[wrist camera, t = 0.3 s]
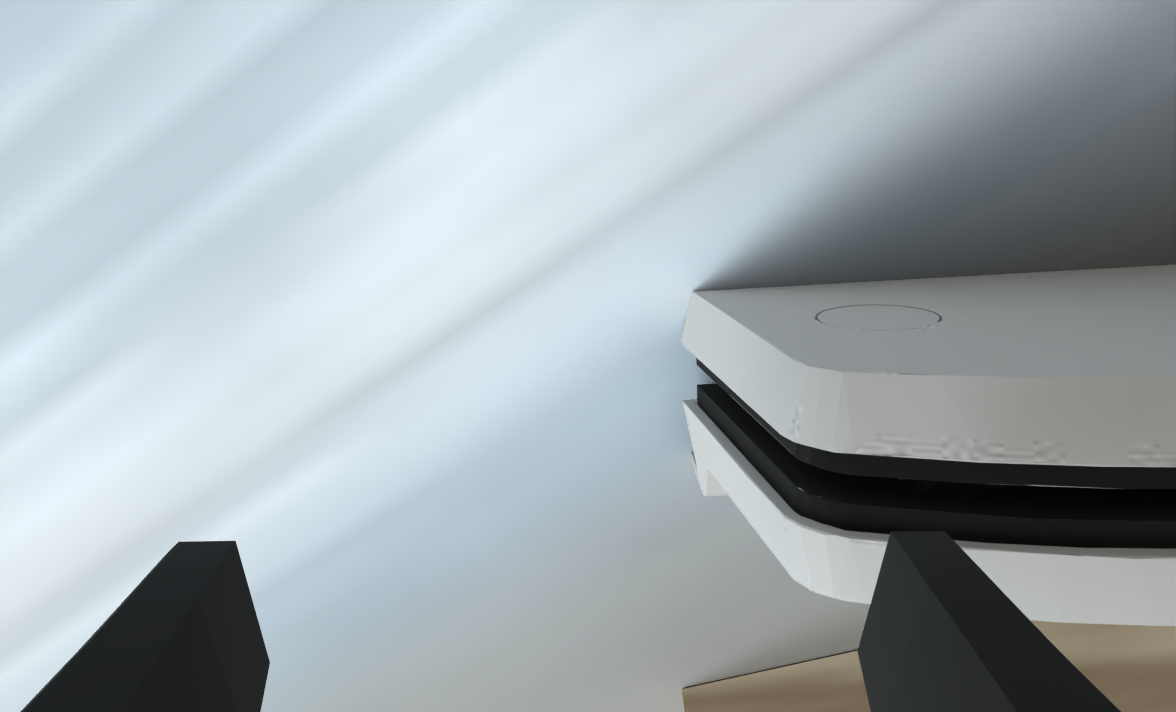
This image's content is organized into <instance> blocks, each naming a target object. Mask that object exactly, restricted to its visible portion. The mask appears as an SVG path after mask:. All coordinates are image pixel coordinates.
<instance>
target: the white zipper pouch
mask: <svg viewBox="0 0 1176 712" xmlns="http://www.w3.org/2000/svg"><path fill="white" fill-rule="evenodd" d="M681 344H682V345H683V346H685V347H686V348H687V349H688V350H689V351H690V352H691V353H692V354H693V355H694V356H695V357H697V365H698V366H699V367H700V368H701V369H702V370H703V371H704V372H705V373H706V374H707V375H708V376H709V377H711V378H712V379H713V380H714V381H715V382H716V383H717V384H702V385H697V399H696V400H682V401H683V406H684V410H685V415H686V419H687V424H688V428H689V433H690V438H691V442H692V447H693V451H694V452H692V453H691V456H692V461H693V466H694V470H695V473H696V475H697V478H698V481H699V484H700V487H701V490H702V493H703V494H704V495H705V496H720V495H729V497H730V498H731V499H732V500H733V502H734V503H735V504H736V506H737V507H738V508H739V510H740V511H741V512H742V513H743V515H744V516H745V517H746V519H747V520H748V521H749V523H750V524H751V525H752V526H753V528H754V529H755V530H756V532H757V533H758V534H759V536H760V537H761V538H762V539H763V541H764V542H765V543H766V545H767V546H768V547H769V549H770V550H771V551H772V552H773V554H774V555H775V556H776V558H777V559H778V560H779V562H780V563H781V564H782V565H783V567H784V568H785V569H786V571H787V572H788V573H789V574H790V576H791V577H792V578H793V579H794V580H795V581H797V582H799V583H800V584H802V585H803V586H805V587H807V588H808V589H810V590H811V591H813V592H815V593H819V594H822V595H826V596H829V597H832V598H836V599H839V600H843V601H849V602H857V603H865V604H871V601H872V597H873V594H874V590H875V586H876V583H877V579H878V575H879V572H880V568H881V564H882V561H883V557H884V554H885V550H886V546H887V543H888V539H889V535H890V532H904V531H945V532H946V533H947V534H948V535H949V536H950V537H951V538H952V539H953V540H954V541H955V542H956V543H957V544H958V545H959V546H960V547H961V548H962V550H963V551H964V552H965V553H966V554H967V555H968V556H969V557H970V558H971V559H972V560H973V561H974V562H975V563H976V564H977V565H978V566H979V567H980V568H981V570H982V571H983V572H984V573H985V574H986V575H987V576H988V577H989V578H990V579H991V580H992V581H993V582H994V583H995V584H996V585H997V586H998V587H999V588H1000V590H1001V591H1002V592H1003V593H1004V594H1005V595H1006V596H1007V597H1008V598H1009V599H1010V600H1011V601H1012V602H1013V603H1014V604H1015V605H1016V606H1017V607H1018V608H1019V609H1020V610H1021V612H1022V613H1023V614H1024V615H1025V616H1026V617H1027V618H1028V619H1029V620H1035V621H1047V622H1060V623H1086V624H1115V625H1145V626H1176V264H1175V265H1157V266H1139V267H1121V268H1103V269H1085V270H1067V271H1049V272H1031V273H1013V274H995V275H977V276H959V277H941V278H923V279H905V280H887V281H870V282H852V283H834V284H816V285H798V286H780V287H762V288H744V289H726V290H708V291H692V294H691V298H690V301H689V304H688V308H687V312H686V317H685V323H684V328H683V333H682V338H681Z"/></svg>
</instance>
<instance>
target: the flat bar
mask: <svg viewBox="0 0 1176 712" xmlns="http://www.w3.org/2000/svg"><path fill="white" fill-rule="evenodd" d="M1030 621H1031V622H1032V623H1033V624H1034V625H1035V626H1036V627H1037V628H1038V629H1039V630H1040V631H1041V632H1042V633H1043V634H1044V635H1045V636H1046V638H1047V639H1048V640H1049V641H1050V642H1051V643H1052V644H1053V645H1054V646H1055V647H1056V648H1057V649H1058V650H1059V651H1060V652H1061V653H1062V654H1063V655H1064V656H1065V657H1066V658H1067V659H1068V660H1069V661H1070V662H1071V663H1072V664H1073V665H1074V666H1075V667H1076V668H1077V669H1078V670H1079V671H1080V672H1081V673H1082V674H1083V675H1084V676H1085V677H1086V678H1087V679H1088V680H1089V681H1090V682H1091V683H1092V684H1093V685H1094V686H1095V687H1096V688H1097V689H1098V690H1099V691H1100V692H1101V693H1103V694H1104V695H1105V696H1106V697H1107V698H1108V699H1109V700H1110V701H1111V702H1112V703H1113V704H1114V705H1115V706H1116V707H1117V708H1118V709H1119V710H1120V711H1121V712H1176V626H1145V625H1115V624H1086V623H1060V622H1047V621H1035V620H1030ZM682 694H683V701H684V708H685V712H871V710H870V706H869V702H868V697H867V693H866V688H865V683H864V679H863V674H862V670H861V665H860V660H859V656H858V651H853V652H849V653H844V654H840V655H835V656H831V657H826V658H821V659H817V660H812V661H808V662H803V663H799V664H794V665H790V666H785V667H781V668H776V669H771V670H767V671H762V672H758V673H753V674H749V675H744V676H740V677H735V678H731V679H726V680H721V681H717V682H712V683H708V684H703V685H699V686H694V687H690V688H685V689H682Z"/></svg>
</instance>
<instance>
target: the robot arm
mask: <svg viewBox="0 0 1176 712" xmlns="http://www.w3.org/2000/svg"><path fill="white" fill-rule="evenodd" d="M858 656H859V660H860V665H861V670H862V674H863V679H864V683H865V688H866V693H867V697H868V702H869V706H870V710H871V712H1121V711H1120V710H1119V709H1118V708H1117V707H1116V706H1115V705H1114V704H1113V703H1112V702H1111V701H1110V700H1109V699H1108V698H1107V697H1106V696H1105V695H1104V694H1103V693H1101V692H1100V691H1099V690H1098V689H1097V688H1096V687H1095V686H1094V685H1093V684H1092V683H1091V682H1090V681H1089V680H1088V679H1087V678H1086V677H1085V676H1084V675H1083V674H1082V673H1081V672H1080V671H1079V670H1078V669H1077V668H1076V667H1075V666H1074V665H1073V664H1072V663H1071V662H1070V661H1069V660H1068V659H1067V658H1066V657H1065V656H1064V655H1063V654H1062V653H1061V652H1060V651H1059V650H1058V649H1057V648H1056V647H1055V646H1054V645H1053V644H1052V643H1051V642H1050V641H1049V640H1048V639H1047V638H1046V636H1045V635H1044V634H1043V633H1042V632H1041V631H1040V630H1039V629H1038V628H1037V627H1036V626H1035V625H1034V624H1033V623H1032V622H1031V621H1030V620H1029V619H1028V618H1027V617H1026V616H1025V615H1024V614H1023V613H1022V612H1021V610H1020V609H1019V608H1018V607H1017V606H1016V605H1015V604H1014V603H1013V602H1012V601H1011V600H1010V599H1009V598H1008V597H1007V596H1006V595H1005V594H1004V593H1003V592H1002V591H1001V590H1000V588H999V587H998V586H997V585H996V584H995V583H994V582H993V581H992V580H991V579H990V578H989V577H988V576H987V575H986V574H985V573H984V572H983V571H982V570H981V568H980V567H979V566H978V565H977V564H976V563H975V562H974V561H973V560H972V559H971V558H970V557H969V556H968V555H967V554H966V553H965V552H964V551H963V550H962V548H961V547H960V546H959V545H958V544H957V543H956V542H955V541H954V540H953V539H952V538H951V537H950V536H949V535H948V534H947V533H946V532H945V531H904V532H890V535H889V539H888V543H887V546H886V550H885V554H884V557H883V561H882V564H881V568H880V572H879V575H878V579H877V583H876V586H875V590H874V594H873V597H872V601H871V605H870V608H869V612H868V616H867V619H866V623H865V626H864V630H863V634H862V637H861V641H860V645H859V648H858ZM269 664H270V662H269V658H268V655H267V651H266V648H265V644H264V641H263V637H262V633H261V630H260V626H259V623H258V619H257V616H256V612H255V609H254V605H253V602H252V598H251V594H250V591H249V587H248V584H247V580H246V577H245V573H244V570H243V566H242V563H241V559H240V556H239V552H238V548H237V545H236V541H204V542H178V543H177V544H176V545H175V546H174V547H173V548H172V549H171V550H170V551H169V552H168V553H167V554H166V555H165V556H164V557H163V558H162V560H161V561H160V562H159V563H158V564H157V565H156V566H155V567H154V568H153V569H152V570H151V572H150V573H149V574H148V575H147V576H146V577H145V578H144V579H143V580H142V581H141V583H140V584H139V585H138V586H137V587H136V588H135V589H134V590H133V591H132V593H131V594H130V595H129V596H128V597H127V598H126V599H125V600H124V601H123V603H122V604H121V605H120V606H119V607H118V608H117V609H116V610H115V611H114V612H113V614H112V615H111V616H110V617H109V618H108V619H107V620H106V621H105V622H104V623H103V625H102V626H101V627H100V628H99V629H98V630H97V631H96V632H95V633H94V634H93V635H92V637H91V638H90V639H89V640H88V641H87V642H86V643H85V644H84V645H83V646H82V647H81V649H80V650H79V651H78V652H77V653H76V654H75V655H74V656H73V657H72V658H71V659H70V660H69V661H68V662H67V663H66V664H65V665H64V667H63V668H62V669H61V670H60V671H59V672H58V673H57V674H56V675H55V676H54V677H53V678H52V679H51V680H50V681H49V682H48V683H47V684H46V685H45V687H44V688H43V689H42V690H41V691H40V692H39V693H38V694H37V695H36V696H35V697H34V698H33V699H32V700H31V701H30V702H29V703H28V704H27V705H26V707H25V708H24V709H23V710H22V711H21V712H260V710H261V705H262V700H263V695H264V690H265V685H266V680H267V674H268V669H269Z"/></svg>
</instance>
